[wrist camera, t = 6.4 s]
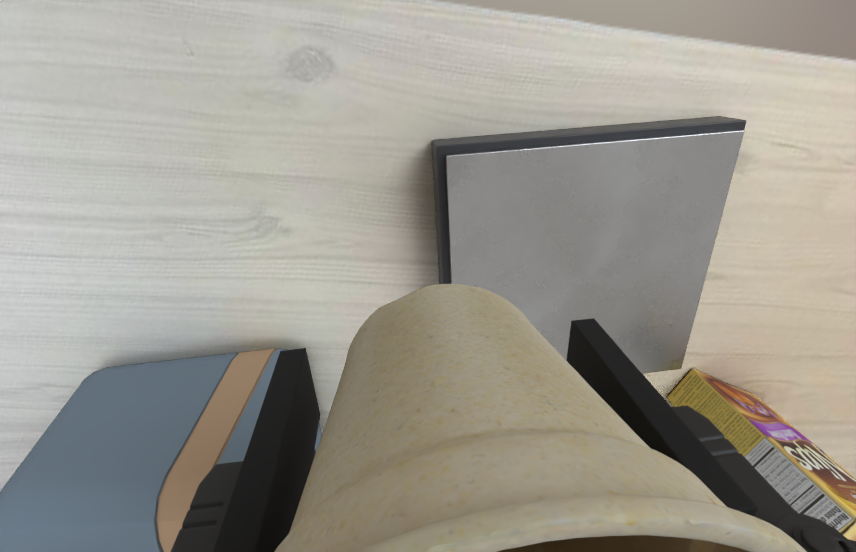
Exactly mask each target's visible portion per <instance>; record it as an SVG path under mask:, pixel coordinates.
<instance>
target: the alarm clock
mask: <svg viewBox="0 0 856 552" xmlns="http://www.w3.org/2000/svg"><path fill="white" fill-rule="evenodd" d="M284 350H286V349H266V350H257V351H248V352H240V353H230V354H221V355H212V356H204V357H195V358H186V359H177V360H168V361H159V362H150V363H141V364H132V365H123V366H114V367H107V368H104V369H101V370H99V371H96V372H94V373H92V374H91V375H89V376H88V377H87V378H85V379H84V381H83V382H82V383H81V385H80V386H79V387H78V389H77V390H76V391H75V393H74V394H73V395H72V397H71V398H70V399H69V401H68V402H67V403H66V405H65V406H64V407H63V409H62V410H61V411H60V413H59V414H58V415H57V417H56V418H55V419H54V421H53V422H52V423H51V425H50V426H49V427H48V429H47V430H46V431H45V433H44V434H43V435H42V437H41V438H40V439H39V441H38V442H37V443H36V445H35V446H34V447H33V449H32V450H31V451H30V453H29V454H28V455H27V457H26V458H25V459H24V461H23V462H22V463H21V465H20V466H19V467H18V469H17V470H16V471H15V473H14V474H13V475H12V477H11V478H10V479H9V481H8V482H7V483H6V485H5V486H4V487H3V489H2V490H1V492H0V552H171V549H172V547H173V545H174V542H175V540H176V538H177V535H178V533H179V531H180V529H182V523H183V521H184V519H185V516H186V514H187V512H188V510H190V505H191V502H192V500H193V497H194V495H195V493H196V490H197V488H198V486H199V484H200V483H201V481H202V480H203V479H204V478H205V477H206V475H207V474H208V473H209V472H210V471H211V469H212V468H213V467H214V466H215V465H216V464H222V463H231V462H239V461H244V458H245V455H246V452H247V449H248V446H249V443H250V440H251V437H252V434H253V431H254V428H255V425H256V422H257V419H258V416H259V413H260V410H261V407H262V404H263V401H264V398H265V395H266V392H267V389H268V386H269V383H270V380H271V377H272V374H273V371H274V368H275V365H276V362H277V359H278V356H279V353H280V351H284ZM321 437H322V433H321V429H320V425H318V431H317V438H316V444H315V450H314V456H313V460H314V457H315V454H316V451H317V449H318V446H319V443H320V440H321Z"/></svg>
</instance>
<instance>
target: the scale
mask: <svg viewBox="0 0 856 552" xmlns="http://www.w3.org/2000/svg"><path fill="white" fill-rule="evenodd" d="M745 124H746V120H741V119H734V118H727V117H721V116H718V117H706V118H693V119H681V120H669V121H657V122H645V123H632V124H620V125H608V126H596V127H584V128H572V129H559V130H547V131H535V132H523V133H511V134H498V135H486V136H474V137H462V138H450V139H438V140H432V155H433V173H434V191H435V209H436V227H437V245H438V264H439V282H440V284H462V285H470V286H475V287H479V288H483V289H486V290H488V291H491V292H493V293H495V294H497V295H499V296H501V297H503V298H505V299H506V300H508V301H509V302H511V303H512V304H513V305H515V306H516V307H517V308H518V309H519V310H520V311H521V312H522V313H523V314H524V315H525V316H526V318H527V319H528V320H529V321H530V323H531V324H532V325H533V326H534V327H535V328H536V329H537V330H538V331H539V332H540V333H541V334H542V336H543V337H544V338H545V339H546V340H547V341H548V342H549V343H550V344H551V345H552V346H553V347H554V348H555V349H556V350H557V351H558V353H559V354H560V355H561V356H562V357H563V358H564V359H565V360H567V351H568V343H569V335H570V327H571V321H573V320H582V319H592V318H594V319H595V320H596V321H597V322H598V323H599V325H600V326H601V327H602V328H603V329H604V330H605V332H606V333H607V334H608V335H609V336H610V337H611V338H612V340H613V341H614V342H615V343H616V344H617V345H618V347H619V348H620V349H621V350H622V351H623V352H624V353H625V355H626V356H627V357H628V358H629V359H630V360H631V362H632V363H633V364H634V365H635V366H636V367H637V368H638V370H639V371H640V372H641V373H642V374H643V373H651V372H659V371H667V370H675V369H681V367H682V363H683V360H684V356H685V352H686V348H687V345H688V341H689V337H690V333H691V329H692V326H693V322H694V318H695V314H696V311H697V307H698V303H699V299H700V296H701V292H702V288H703V284H704V281H705V277H706V273H707V269H708V266H709V262H710V258H711V254H712V251H713V247H714V243H715V239H716V236H717V232H718V228H719V224H720V221H721V217H722V213H723V209H724V206H725V202H726V198H727V194H728V191H729V187H730V183H731V179H732V176H733V172H734V168H735V164H736V160H737V157H738V153H739V149H740V145H741V142H742V138H743V134H744V128H745Z"/></svg>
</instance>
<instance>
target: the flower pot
mask: <svg viewBox="0 0 856 552" xmlns="http://www.w3.org/2000/svg"><path fill="white" fill-rule="evenodd" d="M275 552H807V551H806V550H805V549H804V548H803V547H801V546H800V545H799V544H798V543H797V542H796V541H795V540H793V539H792V538H791V537H790V536H788V535H787V534H786V533H784V532H783V531H782V530H781V529H779V528H777V527H775V526H773V525H772V524H770V523H768V522H766V521H763V520H761V519H759V518H757V517H754V516H751V515H748V514H746V513H743V512H740V511H737V510H734V509H731V508H728V507H727V506H726V505H725V504H724V503H723V502H721V501H720V500H719V499H718V498H717V497H716V496H715V495H714V494H713V493H712V491H711V490H710V489H709V488H708V487H707V486H706V485H705V484H704V483H703V482H702V481H701V480H700V479H699V478H698V477H697V476H696V475H694V474H693V473H692V472H691V471H690V470H688V469H687V468H686V467H684V466H683V465H681V464H680V463H678V462H677V461H675V460H673V459H672V458H670V457H668V456H666V455H664V454H662V453H660V452H658V451H656V450H653V449H651V448H650V447H649V446H648V445H647V444H646V443H645V442H644V441H643V440H642V439H641V438H640V437H639V436H638V435H637V434H636V433H635V432H634V431H633V430H632V429H631V428H630V427H629V426H628V425H627V424H626V423H625V422H624V421H623V420H622V419H621V418H620V417H619V416H618V414H617V413H616V412H615V411H614V410H613V409H612V408H611V407H610V406H609V405H608V404H607V403H606V402H605V401H604V400H603V399H602V398H601V397H600V396H599V395H598V394H597V393H596V391H595V390H594V389H593V388H592V387H591V386H590V385H589V384H588V383H587V382H586V381H585V380H584V379H583V378H582V377H581V375H580V374H579V373H578V372H577V371H576V370H575V369H574V368H573V367H572V366H571V365H570V364H569V363H568V362H567V361H566V360H565V359H564V358H563V357H562V356H561V355H560V354H559V353H558V351H557V350H556V349H555V348H554V347H553V346H552V345H551V344H550V343H549V342H548V341H547V340H546V339H545V338H544V337H543V336H542V334H541V333H540V332H539V331H538V330H537V329H536V328H535V327H534V326H533V325H532V324H531V323H530V321H529V320H528V319H527V318H526V316H525V315H524V314H523V313H522V312H521V311H520V310H519V309H518V308H517V307H516V306H515V305H513V304H512V303H511V302H509V301H508V300H506V299H505V298H503V297H501V296H499V295H497V294H495V293H493V292H491V291H488V290H486V289H483V288H479V287H475V286H470V285H462V284H436V285H430V286H425V287H422V288H420V289H419V290H417V291H415V292H412V293H410V294H408V295H406V296H404V297H402V298H400V299H398V300H396V301H393V302H391V303H389V304H387V305H385V306H382V307H380V308H379V309H377V310H376V311H375V312H374V313H373V314H372V315H371V316H370V317H369V318H368V319H367V320H366V321H365V323H364V324H363V325H362V326H361V328H360V329H359V330H358V332H357V334H356V335H355V337H354V339H353V341H352V343H351V345H350V348H349V351H348V354H347V359H346V363H345V367H344V370H343V373H342V376H341V379H340V382H339V386H338V389H337V392H336V395H335V398H334V401H333V404H332V407H331V410H330V413H329V416H328V419H327V422H326V425H325V428H324V431H323V434H322V437H321V440H320V443H319V446H318V449H317V451H316V454H315V457H314V460H313V463H312V466H311V469H310V472H309V475H308V478H307V481H306V484H305V487H304V490H303V493H302V496H301V499H300V502H299V505H298V508H297V511H296V514H295V517H294V520H293V523H292V526H291V529H290V532H289V534H288V535H287V537H286V538H285V539H284V540H283V541H282V542H281V544H280V545H279V546H278V547H277V549H276V550H275Z"/></svg>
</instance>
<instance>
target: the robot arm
mask: <svg viewBox="0 0 856 552" xmlns="http://www.w3.org/2000/svg"><path fill="white" fill-rule="evenodd" d="M566 361H567V362H568V363H569V364H570V365H571V366H572V367H573V368H574V369H575V370H576V371H577V372H578V373H579V374H580V375H581V377H582V378H583V379H584V380H585V381H586V382H587V383H588V384H589V385H590V386H591V387H592V388H593V389H594V390H595V391H596V393H597V394H598V395H599V396H600V397H601V398H602V399H603V400H604V401H605V402H606V403H607V404H608V405H609V406H610V407H611V408H612V409H613V410H614V411H615V412H616V413H617V414H618V416H619V417H620V418H621V419H622V420H623V421H624V422H625V423H626V424H627V425H628V426H629V427H630V428H631V429H632V430H633V431H634V432H635V433H636V434H637V435H638V436H639V437H640V438H641V439H642V440H643V441H644V442H645V443H646V444H647V445H648V446H649V447H650V448H651V449H653V450H656V451H658V452H660V453H662V454H664V455H666V456H668V457H670V458H672V459H673V460H675V461H677V462H678V463H680V464H681V465H683V466H684V467H686V468H687V469H688V470H690V471H691V472H692V473H693V474H694V475H696V476H697V477H698V478H699V479H700V480H701V481H702V482H703V483H704V484H705V485H706V486H707V487H708V488H709V489H710V490H711V491H712V493H713V494H714V495H715V496H716V497H717V498H718V499H719V500H720V501H721V502H723V503H724V504H725V505H726V506H727V507H728V508H731V509H734V510H737V511H740V512H743V513H746V514H748V515H751V516H754V517H757V518H759V519H761V520H763V521H766V522H768V523H770V524H772V525H773V526H775V527H777V528H779V529H781V530H782V531H783V532H784V533H786V534H787V535H788V536H790V537H791V538H792V539H793V540H795V541H796V542H797V543H798V544H799V545H800V546H801V547H803V548H804V549H805V550H806V551H807V552H856V541H853V540H849V539H847V538H846V537H845V536H843V535H842V534H841V533H840V532H839V531H838V530H836V529H835V528H833V527H831V526H830V525H828V524H826V523H824V522H823V521H821V520H819V519H816V518H813V517H811V516H808V515H805V514H799V513H798V512H797V511H795V510H794V509H793V508H792V507H791V506H790V505H789V504H788V503H787V502H786V501H785V500H784V498H783V497H782V496H781V495H780V494H779V493H778V492H777V491H776V490H775V489H774V488H773V487H772V486H771V485H770V484H769V483H768V482H767V480H766V479H765V478H764V477H763V476H762V475H761V474H760V473H759V472H758V471H757V470H756V469H755V468H754V467H753V466H752V465H751V463H750V462H749V461H748V460H747V459H746V458H745V457H744V456H743V455H742V454H741V453H738V451H737V449H736V448H735V447H734V445H733V444H732V443H731V442H730V441H729V440H728V439H725V438H724V435H723V434H722V433H721V432H720V431H719V430H718V429H717V427H716V426H715V425H714V424H713V423H712V422H711V421H710V420H709V419H708V418H706V417H705V416H703V415H702V414H700V413H699V412H697V411H695V410H694V409H692V408H691V407H689V406H688V405H686V406H677V407H670V405H669V404H668V403H667V402H666V401H665V400H664V398H663V397H662V396H661V395H660V394H659V393H658V392H657V390H656V389H655V388H654V387H653V386H652V385H651V383H650V382H649V381H648V380H647V379H646V378H645V377H644V375H643V374H642V373H641V372H640V371H639V370H638V368H637V367H636V366H635V365H634V364H633V363H632V362H631V360H630V359H629V358H628V357H627V356H626V355H625V353H624V352H623V351H622V350H621V349H620V348H619V347H618V345H617V344H616V343H615V342H614V341H613V340H612V338H611V337H610V336H609V335H608V334H607V333H606V332H605V330H604V329H603V328H602V327H601V326H600V325H599V323H598V322H597V321H596V320H595V319H594V318H592V319H582V320H573V321H571V327H570V335H569V343H568V351H567V360H566ZM319 419H320V412H319V407H318V403H317V398H316V393H315V389H314V384H313V380H312V375H311V371H310V366H309V361H308V357H307V352H306V348H303V349H294V350H284V351H280V353H279V356H278V359H277V362H276V365H275V368H274V371H273V374H272V377H271V380H270V383H269V386H268V389H267V392H266V395H265V398H264V401H263V404H262V407H261V410H260V413H259V416H258V419H257V422H256V425H255V428H254V431H253V434H252V437H251V440H250V443H249V446H248V449H247V452H246V455H245V458H244V461H239V462H231V463H222V464H216V465H215V466H214V467H213V468H212V469H211V471H210V472H209V473H208V474H207V475H206V477H205V478H204V479H203V480H202V481H201V483H200V484H199V486H198V488H197V490H196V493H195V495H194V497H193V500H192V502H191V505H190V510H188V512H187V514H186V516H185V519H184V521H183V523H182V529H180V531H179V533H178V535H177V538H176V540H175V542H174V545H173V547H172V549H171V552H275V550H276V549H277V547H278V546H279V545H280V544H281V542H282V541H283V540H284V539H285V538H286V537H287V535H288V534H289V532H290V529H291V526H292V523H293V520H294V517H295V514H296V511H297V508H298V505H299V502H300V499H301V496H302V493H303V490H304V487H305V484H306V481H307V478H308V475H309V472H310V469H311V466H312V463H313V456H314V450H315V444H316V438H317V431H318V425H319Z"/></svg>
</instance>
